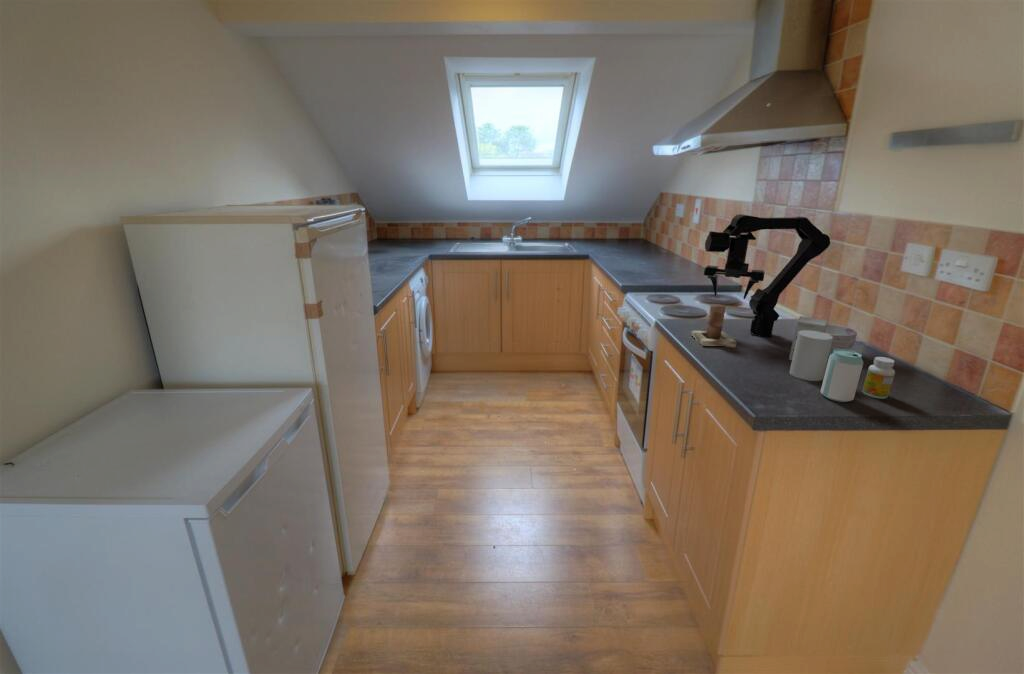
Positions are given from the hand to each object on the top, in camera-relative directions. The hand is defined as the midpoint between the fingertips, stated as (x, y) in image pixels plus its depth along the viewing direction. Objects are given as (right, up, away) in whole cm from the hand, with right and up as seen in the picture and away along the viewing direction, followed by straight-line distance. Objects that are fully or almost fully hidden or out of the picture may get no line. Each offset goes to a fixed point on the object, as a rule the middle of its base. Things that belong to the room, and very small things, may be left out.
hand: (729, 297), depth 166 cm
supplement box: (+13, -21, -21) cm, 32 cm away
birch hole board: (-8, -15, -6) cm, 19 cm away
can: (+6, -29, -46) cm, 55 cm away
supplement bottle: (+17, -29, -44) cm, 55 cm away
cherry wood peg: (-8, -15, -6) cm, 18 cm away
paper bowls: (+24, -19, -13) cm, 33 cm away
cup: (+7, -25, -32) cm, 41 cm away
